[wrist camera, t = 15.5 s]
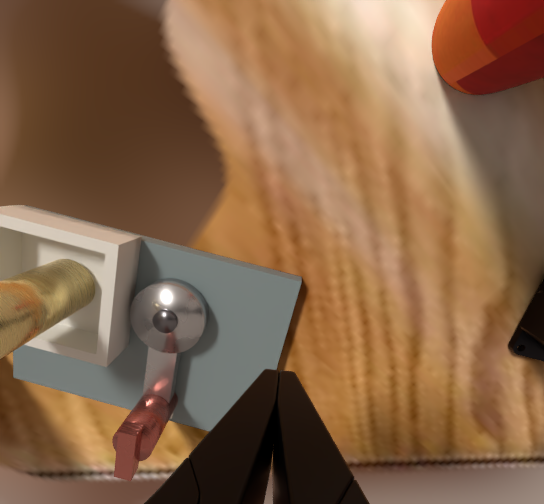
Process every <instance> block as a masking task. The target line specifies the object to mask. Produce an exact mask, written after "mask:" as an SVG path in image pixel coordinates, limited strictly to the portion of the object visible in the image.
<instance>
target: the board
mask: <svg viewBox="0 0 544 504" xmlns="http://www.w3.org/2000/svg"><path fill="white" fill-rule="evenodd" d="M25 206H26V207H30V208H34V209H38V210H42V209H39V208H35V207H31V206H27V205H25ZM42 211H46V210H42ZM46 212H49V213H53V214H57V215H61V216H65V217H69V218H72V219H76V220H80V221H84V222H88V223H92V224H95V225H99V226H103V227H107V228H111V229H115V230H118V231H122V232H126V233H130V234H134V235H138V236H142V235H139V234H135V233H131V232H127V231H123V230H119V229H116V228H112V227H108V226H104V225H100V224H96V223H93V222H89V221H85V220H81V219H77V218H73V217H70V216H66V215H62V214H58V213H54V212H50V211H46ZM165 278H175V279H180V280H183V281H185V282H187V283H189V284H191V285H192V286H194V287H195V288H196V289H197V290H198V291H199V292H200V293H201V294H202V296H203V297H204V299H205V301H206V303H207V306H208V310H209V320H208V324H207V327H206V329H205V330H204V332H203V334H202V335H201V337H200V339H199V340H198V342H197V343H196V344H195V345H194V346H193V347H191V348H190V349H188V350H186V351H184V352H181V355H180V362H179V368H178V374H177V380H176V387H175V393H176V395H177V398H178V403H177V406H176V408H175V409H174V411H173V413H172V415H171V417H170V419H169V420H170V421H173V422H177V423H181V424H184V425H188V426H192V427H195V428H199V429H202V430H206V431H211V430H212V429H213V427H214V426H215V425H216V424H217V423H218V422H219V421H220V419H221V418H222V417H223V416H224V415H225V414H226V413H227V411H228V410H229V409H230V408H231V407H232V406H233V405H234V403H235V402H236V401H237V400H238V399H239V398H240V397H241V395H242V394H243V393H244V392H245V391H246V390H247V389H248V387H249V386H250V385H251V384H252V383H253V382H254V381H255V379H256V378H257V377H258V376H259V375H260V374H261V373H262V371H263V370H264V369H273V370H276V369H277V365H278V362H279V358H280V355H281V352H282V348H283V345H284V341H285V338H286V334H287V331H288V327H289V324H290V321H291V317H292V314H293V310H294V307H295V303H296V300H297V296H298V293H299V290H300V286H301V283H302V277H300V276H296V275H292V274H288V273H285V272H281V271H277V270H273V269H269V268H265V267H262V266H258V265H254V264H250V263H246V262H242V261H239V260H235V259H231V258H227V257H223V256H219V255H215V254H212V253H208V252H204V251H200V250H196V249H192V248H189V247H185V246H181V245H177V244H173V243H169V242H165V241H161V240H158V239H154V238H150V237H146V236H142V238H141V246H140V254H139V262H138V270H137V279H136V287H135V295H134V298H135V297H136V296H137V294H138V293H139V292H141V291H142V290H143V289H145V288H146V287H148V286H149V285H150V284H152V283H153V282H155V281H157V280H160V279H165ZM148 348H149V346H147V345H146V344H145V343H144V342H143V341H141V339H140V338H139V337H138V336H137V334H136V333H135V331H134V329H133V327H132V324H131V328H130V336H129V344H128V346H127V347H126V348H125V349H124V350H123V351H122V352H121V353H120V354H119V355H118V356H117V357H116V358H115V359H114V360H113V361H112V362H111V363H110V364H109V365H108V366H107V367H104V366H101V365H97V364H93V363H90V362H86V361H82V360H79V359H75V358H71V357H67V356H64V355H60V354H56V353H53V352H49V351H45V350H42V349H38V348H34V347H31V346H27V345H22V346H21V347H19V348H18V349H16V350H14V351H13V378H17V379H21V380H24V381H28V382H32V383H35V384H39V385H42V386H46V387H50V388H53V389H57V390H61V391H64V392H68V393H72V394H75V395H79V396H82V397H86V398H90V399H93V400H97V401H101V402H104V403H108V404H112V405H115V406H119V407H122V408H126V409H130V410H132V409H133V408H134V407H135V405H136V404H137V402H138V401H139V400H140V398H141V397H142V395H143V389H144V381H145V373H146V365H147V357H148Z"/></svg>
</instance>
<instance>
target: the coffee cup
mask: <svg viewBox="0 0 544 504" xmlns="http://www.w3.org/2000/svg"><path fill="white" fill-rule="evenodd" d="M432 55H433V60H434V63H435V66H436V68H437V70H438V72H439V74H440V76H441V77H442V78H443V79H444V81H445V82H446V83H447V84H449V85H450V86H451V87H453V88H454V89H456V90H458V91H460V92H463V93H467V94H473V95H483V94H490V93H495V92H499V91H503V90H506V89H509V88H512V87H516V86H519V85H522V84H525V83H528V82H531V81H534V80H537V79H540V78H543V77H544V0H446V1H445V3H444V5H443V7H442V9H441V11H440V13H439V15H438V17H437V20H436V23H435V26H434V30H433V35H432Z"/></svg>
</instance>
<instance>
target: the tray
mask: <svg viewBox="0 0 544 504" xmlns="http://www.w3.org/2000/svg"><path fill="white" fill-rule="evenodd" d="M141 238H142V236H138V235H134V234H130V233H126V232H122V231H118V230H115V229H111V228H107V227H103V226H99V225H95V224H92V223H88V222H84V221H80V220H76V219H72V218H69V217H65V216H61V215H57V214H53V213H49V212H46V211H42V210H38V209H34V208H30V207H26V206H23V205H13V206H3V207H0V281H2V280H4V279H7V278H10V277H12V276H15V275H18V274H20V273H23V272H26V271H28V270H31V269H34V268H36V267H39V266H42V265H45V264H47V263H50V262H53V261H55V260H58V259H70V260H73V261H76V262H78V263H79V264H81V265H82V266H83V267H84V268H85V269H86V270H87V271H88V272H89V273H90V275H91V276H92V278H93V281H94V284H95V296H94V298H93V300H92V301H91V303H89V304H88V305H87V306H85V307H83V308H82V309H80V310H79V311H77V312H75V313H74V314H72V315H71V316H69V317H67V318H66V319H64V320H62V321H61V322H59V323H58V324H56V325H54V326H53V327H51V328H50V329H48V330H46V331H45V332H43V333H42V334H40V335H38V336H37V337H35V338H34V339H32V340H30V341H29V342H27V343H26V344H24V345H27V346H31V347H34V348H38V349H42V350H45V351H49V352H53V353H56V354H60V355H64V356H67V357H71V358H75V359H79V360H82V361H86V362H90V363H93V364H97V365H101V366H104V367H107V366H108V365H109V364H110V363H111V362H112V361H113V360H114V359H115V358H116V357H117V356H118V355H119V354H120V353H121V352H122V351H123V350H124V349H125V348H126V347H127V346H128V344H129V336H130V328H131V320H130V309H131V305H132V302H133V300H134V295H135V287H136V279H137V270H138V262H139V254H140V246H141Z"/></svg>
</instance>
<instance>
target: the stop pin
mask: <svg viewBox="0 0 544 504" xmlns="http://www.w3.org/2000/svg"><path fill="white" fill-rule="evenodd" d="M94 296H95V284H94V281H93V278H92V276H91V275H90V273H89V272H88V271H87V270H86V269H85V268H84V267H83V266H82V265H81V264H79V263H78V262H76V261H73V260H70V259H58V260H55V261H53V262H50V263H47V264H45V265H42V266H39V267H36V268H34V269H31V270H28V271H26V272H23V273H20V274H18V275H15V276H12V277H10V278H7V279H4V280H2V281H0V359H1V358H3V357H5V356H6V355H8V354H10V353H11V352H13V351H14V350H16V349H18V348H19V347H21V346H22V345H24V344H26V343H27V342H29V341H30V340H32V339H34V338H35V337H37V336H38V335H40V334H42V333H43V332H45V331H46V330H48V329H50V328H51V327H53V326H54V325H56V324H58V323H59V322H61V321H62V320H64V319H66V318H67V317H69V316H71V315H72V314H74V313H75V312H77V311H79V310H80V309H82V308H83V307H85V306H87V305H88V304H89V303H91V301H92V300H93V298H94Z"/></svg>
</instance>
